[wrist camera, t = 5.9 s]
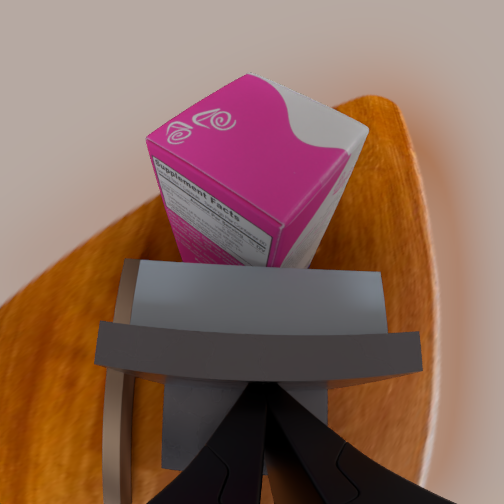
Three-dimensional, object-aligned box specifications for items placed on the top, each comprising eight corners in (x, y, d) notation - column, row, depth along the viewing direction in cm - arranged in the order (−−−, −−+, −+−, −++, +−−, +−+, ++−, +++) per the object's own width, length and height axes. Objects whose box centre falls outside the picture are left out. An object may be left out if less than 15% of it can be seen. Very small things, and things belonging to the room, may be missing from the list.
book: (315, 370, 17) (388, 340, 9) (177, 365, 16) (128, 332, 8) (314, 331, 18) (380, 271, 10) (180, 326, 17) (140, 259, 9)
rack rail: (131, 504, 12) (121, 514, 10) (116, 500, 12) (104, 509, 10) (148, 273, 19) (140, 259, 17) (133, 272, 19) (124, 258, 17)
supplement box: (240, 215, 21) (252, 66, 11) (311, 265, 20) (380, 130, 10) (182, 274, 19) (139, 132, 9) (256, 334, 18) (295, 234, 7)
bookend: (323, 469, 14) (416, 522, 5) (163, 466, 13) (93, 527, 4) (324, 370, 17) (419, 331, 8) (168, 364, 16) (100, 320, 7)
